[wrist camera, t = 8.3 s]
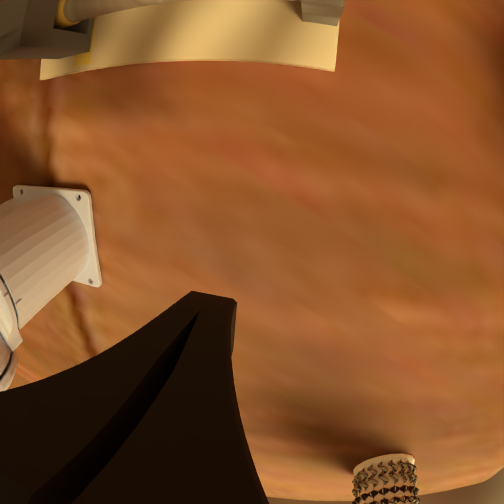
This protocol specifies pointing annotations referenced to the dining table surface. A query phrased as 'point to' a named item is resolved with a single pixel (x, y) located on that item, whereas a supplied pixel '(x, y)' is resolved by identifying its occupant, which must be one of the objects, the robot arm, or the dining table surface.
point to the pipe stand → (200, 32)
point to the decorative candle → (386, 480)
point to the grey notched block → (39, 31)
